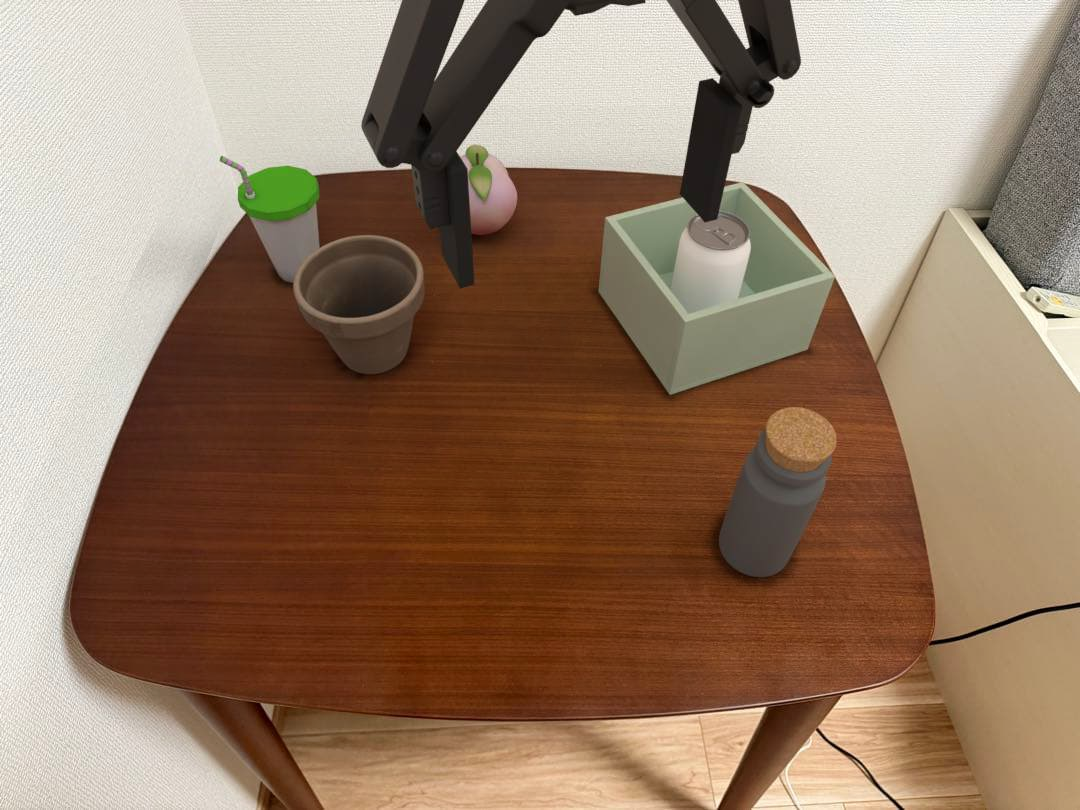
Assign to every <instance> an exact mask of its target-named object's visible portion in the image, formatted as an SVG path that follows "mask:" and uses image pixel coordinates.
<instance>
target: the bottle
mask: <svg viewBox="0 0 1080 810" xmlns="http://www.w3.org/2000/svg"><path fill="white" fill-rule="evenodd" d="M755 444H756V445H755V446H754V447H753V448H752V449H751V450H750V451H749V452H748V454H747V456H746V457H745V460H744V462H743V465H742V467H741V470H740V473H739V476H738V479H737V481H736V484H735V486H734V490H733V493H732V495H731V498H730V502H729V504H728V507H727V510H726V513H725V516H724V519H723V521H722V524H721V527H720V531H719V535H718V546H719V550H720V553H721V555H722V558H723V559H724V560H725V561H726V562H727V564H728V565H729V566H731V568H733V569H734V570H736V571H737V572H739V573H741V574H742V575H743V574H744V575H746V576H749V577H754V578H766V577H771V576H774V575H777V574H778V573H779V572H781V571H782V570H783V569H785V567H786V566H787V565H788V563H789V561H790V559H791V557H792V555H793V553H794V551H795V549H796V547H797V546H798V544H799V542H800V540H801V538H802V536H803V534H804V532H805V530H806V528H807V526H808V524H809V522H810V520H811V518H812V516H813V513H814V511H815V510H816V508H817V505H818V504H819V501H820V499H821V497H822V496H823V493H824V491H825V488H826V484H827V476H826V475H827V473H828V470H829V469H830V467H831V464H832V460H833V458H832V457H833V455H832V454H833V452H834V451H835V450H836V446H837V434H836V431H835V428H834V427H833V426H832V424H831V423H830V422H829V421H828V420H827V418H825V417H824V416H822V415H821V414H820V413H818V412H816V411H814V410H812V409H809V408H805V407H800V406H789V407H784V408H780V409H778V410H776V411H775V412H774V413H772V415H770V416H769V418H768V420H767V422H766V424H765V428H764V429H763V430H762V431H761V433H760V434H759V436H758V439H757V442H756V443H755Z"/></svg>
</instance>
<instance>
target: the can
mask: <svg viewBox="0 0 1080 810" xmlns="http://www.w3.org/2000/svg"><path fill="white" fill-rule="evenodd" d="M749 237H750V229H749V227H748V225H747V223H746V222H745V221H744V220H743V219H741V218H740V217H738V216H737V215H735V214H732V213H729V212H726V211H721V210H719V214H718V218H717V220H713V221H709V222H706V223H705V222H704V221H703V220H702V219H701V218H700V216H699V215H698V214H695V215H694V216H692V217H691V218H690V220H689V221H688V224H687V227H686V228H685V230H684V231H683V233H682V235H681V237H680V242H679V246H678V252H677V257H676V262H675V268H674V273H673V279H672V284H671V290H670V291H671V292H672V293H673V294H674V296H675V297H676V298H677V300H678V301H679V302H680V303H681V305H682V306H683V307H684V309H685V310H686V311H687V313H688V314H690V313H693V312H697V311H700V310H703V309H707V308H710V307H713V306H717V305H720V304H723V303H727V302H730V301H733V300H737V299H738V297H739V293H740V289H741V286H742V282H743V278H744V274H745V271H746V267H747V263H748V259H749V255H750V250H751V244H750V239H749Z"/></svg>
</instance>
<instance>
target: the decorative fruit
mask: <svg viewBox="0 0 1080 810" xmlns="http://www.w3.org/2000/svg"><path fill="white" fill-rule="evenodd" d="M460 158H461V159H462V161H463V162H464V164H465V165H466V167H467V170H468V186H469V202H470V219H471V235H476V236H485V235H491V234H493V233H495V232H497V231H499V230H501V229H502V228H503V227H504V226H505V225H506V224H507V223H508V222H509V221H510V220H511V218H512V217H513V215H514V213H515V210H516V209H517V208H516V207H517V204H518V192H517V189H516V187H515V184H514V182H513V180H512V179H511V178H510V176H509V172H508V170H507V168H506V166H505V164H504V163H503V162H502V161H501V159H499V158H498V157H497V156H495V155H493V154H491V153H489V150H488V149H487V148H486V147H485V146H483V145H480V144H471V145H469V146H468V147H467V148H466V150H465V154H463V155H461V156H460Z"/></svg>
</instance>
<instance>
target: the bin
mask: <svg viewBox="0 0 1080 810" xmlns="http://www.w3.org/2000/svg"><path fill="white" fill-rule="evenodd" d="M719 210H721V211H726V212H729V213H732V214H735V215H737V216H738V217H740V218H741V219H743V220H744V221H745V222H746V223H747V225H748V227H749V229H750V237H749V239H750V244H751V250H750V255H749V259H748V263H747V267H746V271H745V274H744V278H743V282H742V286H741V289H740V293H739V297H738V299H737V300H733V301H730V302H727V303H723V304H720V305H717V306H713V307H710V308H707V309H703V310H700V311H697V312H693V313H690V314H688V313H687V311H686V310H685V309H684V307H683V306H682V305H681V303H680V302H679V301H678V300H677V298H676V297H675V296H674V294H673V293H672V292H671V291H670V290H671V284H672V279H673V273H674V268H675V262H676V257H677V252H678V246H679V242H680V237H681V235H682V233H683V231H684V230H685V228H686V227H687V224H688V221H689V220H690V218H691V217H692V216H694V215H695V214H697V213H696V212H695V211H694V210H693V209H692V207H691V206H690V205H689V204H688V203H687V202H686V201H685V200H684V198H683V197H682V196H681V197H679V198H675V199H671V200H667V201H664V202H660V203H656V204H652V205H648V206H643V207H639V208H636V209H633V210H628V211H625V212H621V213H616V214H613V215H609V216H606V217H604V227H603V239H602V248H601V260H600V268H599V282H598V290H597V292H598V293H599V295H600V296H601V298H602V299H603V300H604V302H605V304H606V305H607V306H608V308H609V309H610V311H611V312H612V313H613V315H614V317H615V318H616V319H617V320H618V322H619V324H620V325H621V326H622V328H623V329H624V331H625V332H626V334H627V335H628V337H629V338H630V339H631V341H632V342H633V344H634V346H635V347H636V348H637V350H638V351H639V352H640V354H641V356H642V357H643V359H644V360H645V361H646V363H647V365H649V368H650V369H651V370H652V371H653V373H654V375H655V376H656V377H657V378H658V380H659V381H660V383H661V384H662V386H663V387H664V389H665V390H666V392H667V393H668V394H669V395H670V396H671V395H674V394H677V393H680V392H683V391H686V390H689V389H692V388H696V387H698V386H701V385H705V384H708V383H710V382H713V381H716V380H720V379H723V378H725V377H728V376H732V375H735V374H738V373H741V372H744V371H747V370H751V369H753V368H756V367H759V366H762V365H766V364H769V363H772V362H775V361H777V360H780V359H783V358H786V357H787V358H788V357H789V356H793V355H795V354H798V353H802V352H805V351H808V349H809V347H810V345H811V341H812V338H813V336H814V333H815V330H816V328H817V325H818V323H819V320H820V317H821V315H822V312H823V310H824V307H825V305H826V302H827V299H828V296H829V294H830V291H831V290H832V286H833V284H834V281H835V279H836V275H835V274H834V273H833V272H832V271H831V270H830V269H829V268H828V267H827V266H826V265H825V264H824V263H823V262H822V261H821V260H820V259H819V258H818V256H817V255H815V253H813V252H812V251H811V249H809V248H808V246H806V245H805V243H803V241H802V240H801V239H800V238H799V237H797V235H796V234H795V233H794V232H793V231H792V230H791V229H790V228H789V227H788V226H787V225H786V224H785V223H784V222H783V221H782V219H780V218H779V217H778V216H777V215H776V214H775V213H774V212H773V210H772V209H770V207H768V206H767V205H766V203H765V202H763V200H761V198H759V197H758V195H756V193H755V192H754V191H753V190H751V188H750V187H749V186H748V185H746V183H745V182H744V181H741V182H737V183H733V184H730V185H729V184H728V185H725V187H724V191H723V196H722V200H721V205H720V209H719Z"/></svg>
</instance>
